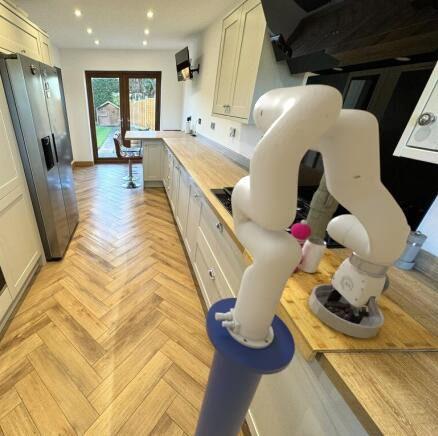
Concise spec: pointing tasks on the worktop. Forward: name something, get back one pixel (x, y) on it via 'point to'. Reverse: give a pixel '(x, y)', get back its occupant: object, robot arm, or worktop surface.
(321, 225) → the moai statue figurine
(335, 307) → the chocolate capsule cluster
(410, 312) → the worktop surface
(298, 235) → the pepper mill
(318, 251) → the can
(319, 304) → the bowl
